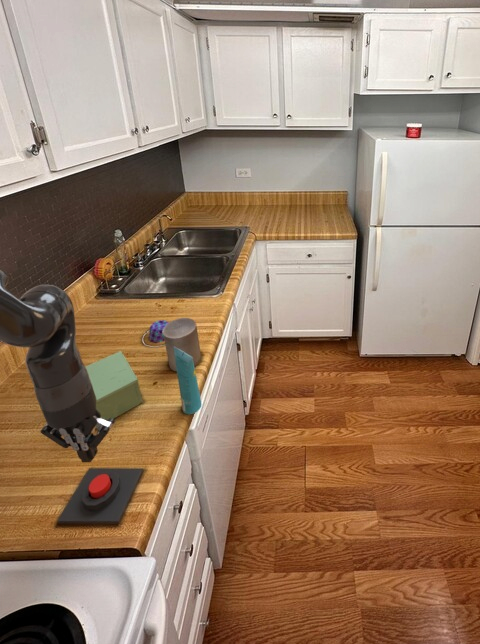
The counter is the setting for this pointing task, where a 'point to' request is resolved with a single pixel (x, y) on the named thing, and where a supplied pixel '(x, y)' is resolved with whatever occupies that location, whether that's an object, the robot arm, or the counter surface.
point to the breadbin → (119, 402)
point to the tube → (187, 382)
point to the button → (100, 486)
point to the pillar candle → (182, 340)
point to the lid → (110, 375)
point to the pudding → (156, 332)
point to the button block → (102, 498)
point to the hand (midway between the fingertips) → (89, 457)
